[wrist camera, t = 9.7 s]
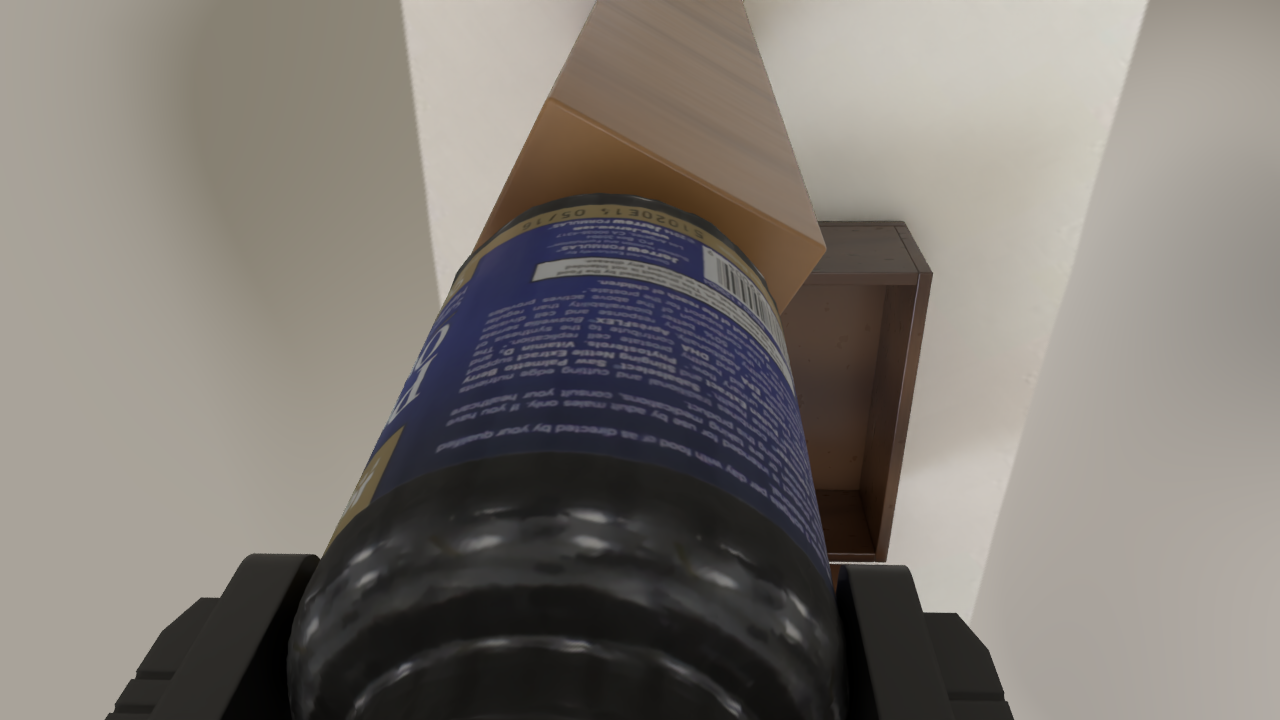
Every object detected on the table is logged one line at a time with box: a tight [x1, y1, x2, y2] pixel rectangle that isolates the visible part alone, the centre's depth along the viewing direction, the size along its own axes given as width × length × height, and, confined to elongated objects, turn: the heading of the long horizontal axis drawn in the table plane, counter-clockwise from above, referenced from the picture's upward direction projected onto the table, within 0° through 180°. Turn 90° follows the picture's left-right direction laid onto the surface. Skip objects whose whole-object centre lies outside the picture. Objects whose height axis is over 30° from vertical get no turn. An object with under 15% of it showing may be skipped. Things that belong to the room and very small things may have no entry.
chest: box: [780, 222, 933, 562], centre depth 52 cm, size 19×13×7 cm
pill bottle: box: [286, 193, 851, 720], centre depth 12 cm, size 6×6×11 cm
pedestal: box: [471, 0, 827, 315], centre depth 31 cm, size 6×6×31 cm
